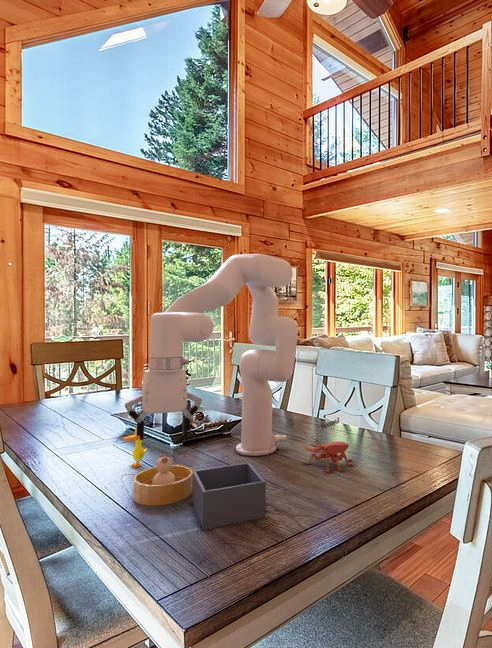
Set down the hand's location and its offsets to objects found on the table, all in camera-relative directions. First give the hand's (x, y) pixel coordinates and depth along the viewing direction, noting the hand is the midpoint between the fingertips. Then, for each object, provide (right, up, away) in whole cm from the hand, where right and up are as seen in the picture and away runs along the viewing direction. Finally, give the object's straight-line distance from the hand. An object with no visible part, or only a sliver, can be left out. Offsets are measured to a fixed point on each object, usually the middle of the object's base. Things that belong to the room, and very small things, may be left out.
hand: (163, 436), depth 107 cm
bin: (+17, -14, -7) cm, 23 cm away
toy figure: (-15, -15, +19) cm, 29 cm away
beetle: (+38, -15, +24) cm, 48 cm away
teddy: (0, -14, 0) cm, 14 cm away
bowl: (0, -14, 0) cm, 14 cm away
